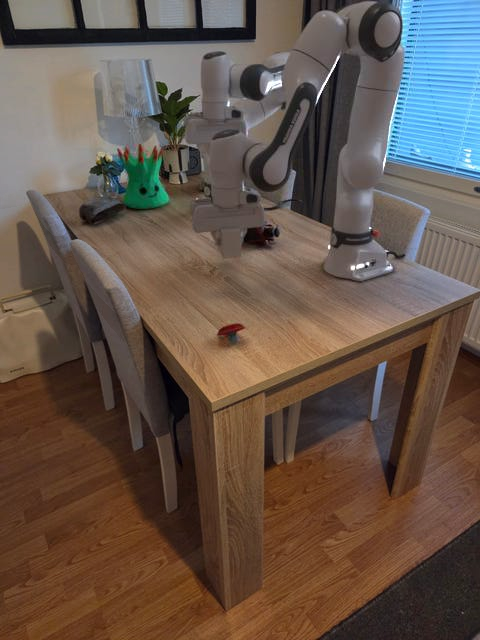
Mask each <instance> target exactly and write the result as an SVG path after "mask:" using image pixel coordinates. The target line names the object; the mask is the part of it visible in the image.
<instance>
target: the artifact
mask: <svg viewBox="0 0 480 640" xmlns="http://www.w3.org/2000/svg"><path fill="white" fill-rule="evenodd" d="M198 190H199V191H201V192H202V191H204V177H203V178H201V179H200V184H199V187H198Z"/></svg>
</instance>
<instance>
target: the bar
mask: <svg viewBox="0 0 480 640" xmlns="http://www.w3.org/2000/svg"><path fill="white" fill-rule="evenodd" d="M215 236H216V238H220V245H218V246H216V248H217V249H218V251H219V253H220V256H221V257H222V260H229V259H237V258H238V259H239V258H242V243H241V230H240V228H239V227H236V228H225V229H220V231H216V235H215ZM212 239H213V240H214V238H213V237H212Z"/></svg>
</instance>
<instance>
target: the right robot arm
mask: <svg viewBox="0 0 480 640" xmlns="http://www.w3.org/2000/svg"><path fill="white" fill-rule="evenodd" d="M403 27H404V24H403V16H402V13H401V11H400V9H399V8H398V7H397V6H396V5H394V4H392V3H390V2H388V1H373V0H372V1H371V0H369V1H368V0H365V1H361V2H358V3H349V4H345V5H342V6H341V7H339V8H338V9H337V10H335V11H331V10H321V11H317V12H316V13H315V14H314V15H313V16H312V17H311V18H310V20H309V21H308V23H307V24H306V26H305V27H304V28H303V30H302V31H301V33H300V35H299V37H298V38H297V40H296V42H295V43H294V45H293V47H292V49H291V51H290V52H291V53H290V55H289V57H288V59H287V61H286V64H285V67H284V70H283V73H282V76H281V83H282V87H283V90H284V93H285V96H286V108H285V110H284V112H283V114H282V116H281V119H280V121H279V123H278V125H277V128H276V130H275V132H274V134H273V137H272V138H271V141H270V142H269V143H268V144H267V143H266V142H264V141H259V140H256V139H254V138H252V137H249V136H248V137H247V136H246V135H244V134H242V133H241V132H240V131H239V130H234V129H233V130H225V131H221V132H219V133H217V134H215V135H214V136H213V138H212V140H211V144H210V169H211V173H212V180H211V197H205V196H204V197H195V198H194V199H192V201H190V203H189V211H190V213H191V214H192V216H191V227H192V230H193V231H194V232H195V233H196V234H199V233H200V234H201V233H209V234H210V235H211V237H212V239H213V238H214V239H213V241H214V246H216V247H217V246H218V245H220V238H216V236H215V235H216V231H220V229H225V228H236V227H239V228H240V229H241V230H242V232H241V244H244V243H243V237H244V236H245V234H246V233H247V228H254V227H262V226H263V225H264V223H265V221H266V220H265V219H266V216H265V209H264V208H265V207H264V206H263V204H262V203H261V201H262V196H261V194H260V192H259V191H262V192H263V193H264V192H265V193H272V192H276V191H278V190H280V189H282V188H283V187H284V186H285V185H286V184H287V183H288V181H289V179H290V176H291V173H292V167H293V160H294V156H295V154H296V152H297V149H298V146H299V145H300V143H301V140H302V138H303V137H304V134H305V132H306V129H307V127H308V126H309V123H310V121H311V119H312V116H313V114H314V111H315V108H316V106H317V103H318V102H319V98H320V96H321V93H322V91H323V90H324V87H325V85H326V84H327V82H328V80H329V78H330V76H331V74H332V72H333V71H334V69H335V67H336V64H337V62H338V61H339V60H340V58H341V57H342V56H343V55H345V54H347V55H349V56H355V57H359V62H360V72H359V76H358V80H357V84H356V87H355V93H354V97H353V102H352V107H351V111H350V117H349V127H348V133H347V134H348V135H347V140H346V141H347V142H346V143H345V145H344V146H343V147H342V148H341V150H340V152H339V156H338V163H337V177H336V194H335V195H336V196H335V207H334V216H333V225H331V228H330V229H331V230H330V237H329V245H328V251H327V255H326V259H325V261H324V263H323V266H322V267H323V268H322V269H323V270H324V271H325V273H327V274H328V275H331V276H333V277H337V278H340V279H348V280H353V281H356V282H363V281H366V280H369V279H373V278H376V277H380V276H383V275H387V274H390V273H392V272H394V268H393V265H392V264H391V263H390V262H389V261H388V258H389V255H393V256H394V257H395V258H396V259H401V258H404V257H406V253H402V254H397V252H396V251H393V250H386V249H385V248H384V247H383V246H382V245H380V244H379V243H378V242H377V241H376V240H375V239H374V238H379V237H380V236H381V232H380V231H379V230H377V229H373V228H372V227H371V221H372V215H373V209H374V188H375V187H376V186H377V185H378V184H379V183H380V182H381V180H382V179H383V176H384V172H385V164H386V158H387V151H388V146H389V140H390V139H389V138H390V132H391V131H390V130H391V125H392V121H393V120H392V119H393V116H394V112H395V108H396V105H397V100H398V96H399V94H400V92H399V91H400V88H401V84H402V81H403V75H404V74H403V73H404V67H405V56H406V55H405V53H406V52H405V49H404V46H403V44H401V43H402V35H403V30H404V29H403ZM248 180H250V181H251V182H252V184H253V185H254V186H255V187H256V188H257V189H254V188H251V187H247V186H245V181H248ZM257 190H259V191H257Z"/></svg>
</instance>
